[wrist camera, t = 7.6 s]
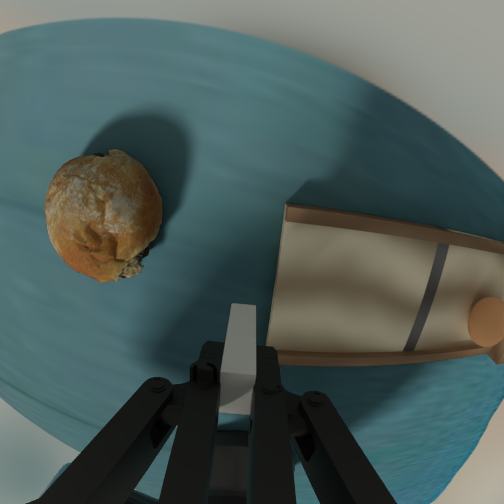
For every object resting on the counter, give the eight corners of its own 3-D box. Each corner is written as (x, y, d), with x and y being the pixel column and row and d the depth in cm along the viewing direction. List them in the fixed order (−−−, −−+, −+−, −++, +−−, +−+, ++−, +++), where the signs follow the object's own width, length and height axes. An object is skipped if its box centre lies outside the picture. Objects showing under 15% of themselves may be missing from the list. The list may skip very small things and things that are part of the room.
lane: (487, 343, 24) (505, 362, 20) (264, 349, 24) (265, 383, 20) (521, 246, 21) (546, 258, 16) (285, 202, 20) (292, 213, 16)
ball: (465, 329, 23) (500, 342, 19) (457, 345, 20) (497, 361, 16) (477, 286, 22) (515, 298, 18) (473, 297, 19) (516, 311, 15)
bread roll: (175, 163, 23) (140, 113, 15) (174, 282, 22) (128, 277, 14) (85, 180, 24) (35, 147, 16) (78, 285, 22) (17, 279, 14)
